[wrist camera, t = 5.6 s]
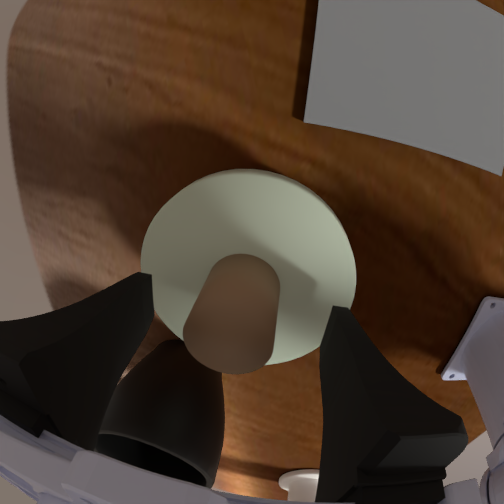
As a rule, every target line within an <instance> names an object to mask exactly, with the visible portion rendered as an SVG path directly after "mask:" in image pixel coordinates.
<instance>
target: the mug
mask: <svg viewBox="0 0 504 504" xmlns="http://www.w3.org/2000/svg"><path fill="white" fill-rule="evenodd" d="M224 428H225V411H224V395H223V385H222V372H218V371H215V370H213V369H210V368H208V367H206V366H205V365H203V364H201V363H200V362H199V361H197V360H196V359H195V358H194V357H193V356H192V355H191V354H190V352H189V351H188V349H187V347H186V346H185V343H184V341H183V340H169V341H165V342H163V343H161V344H159V345H158V346H157V348H156V349H154V350H153V351H152V352H151V353H150V354H148V355H147V356H146V357H145V358H144V359H142V360H141V361H140V362H139V363H138V364H137V365H136V366H135V367H134V368H133V369H132V370H131V371H130V372H129V373H128V374H127V375H126V376H125V377H124V378H123V379H122V380H121V382H120V383H119V384H118V385H117V386H116V388H115V391H114V393H113V395H112V398H111V400H110V403H109V405H108V408H107V411H106V413H105V416H104V419H103V422H102V425H101V428H100V431H99V434H98V438H97V441H96V445H95V449H94V452H96V453H100V454H103V455H105V456H108V457H111V458H113V459H116V460H118V461H121V462H124V463H127V464H129V465H132V466H135V467H138V468H141V469H144V470H147V471H151V472H154V473H157V474H160V475H164V476H167V477H171V478H175V479H178V480H182V481H186V482H190V483H193V484H196V485H200V486H203V487H206V488H210V489H211V488H212V486H213V484H214V481H215V477H216V473H217V469H218V465H219V460H220V456H221V451H222V447H223V440H224Z"/></svg>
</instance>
